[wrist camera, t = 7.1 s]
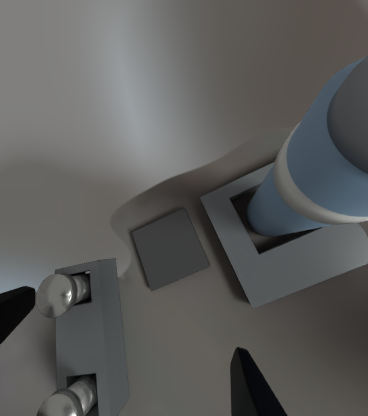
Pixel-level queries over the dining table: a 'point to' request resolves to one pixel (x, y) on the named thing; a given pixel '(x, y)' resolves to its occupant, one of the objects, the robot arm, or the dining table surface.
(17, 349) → the dining table surface
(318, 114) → the cartridge
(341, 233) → the socket plate
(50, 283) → the plunger
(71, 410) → the plunger
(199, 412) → the dining table surface
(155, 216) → the dining table surface
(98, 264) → the bar
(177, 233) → the mat
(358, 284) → the dining table surface
